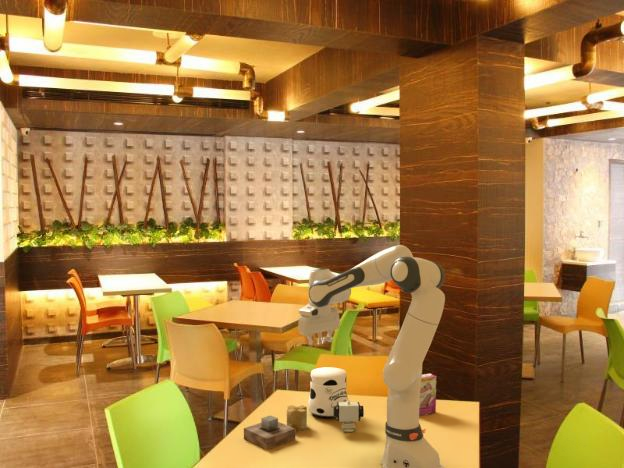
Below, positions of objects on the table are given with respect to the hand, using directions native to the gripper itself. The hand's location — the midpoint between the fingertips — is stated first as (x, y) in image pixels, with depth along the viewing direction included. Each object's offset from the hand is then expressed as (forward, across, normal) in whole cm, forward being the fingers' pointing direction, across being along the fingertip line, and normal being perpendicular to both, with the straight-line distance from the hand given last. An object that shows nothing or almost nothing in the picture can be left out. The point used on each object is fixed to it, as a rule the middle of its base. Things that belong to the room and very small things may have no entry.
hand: (319, 342), depth 241 cm
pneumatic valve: (+34, -5, +11) cm, 36 cm away
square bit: (+34, +23, -4) cm, 41 cm away
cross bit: (+34, +8, -5) cm, 35 cm away
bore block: (+34, +23, -4) cm, 41 cm away
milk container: (+34, -13, -8) cm, 38 cm away
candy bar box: (+34, -42, +20) cm, 58 cm away
